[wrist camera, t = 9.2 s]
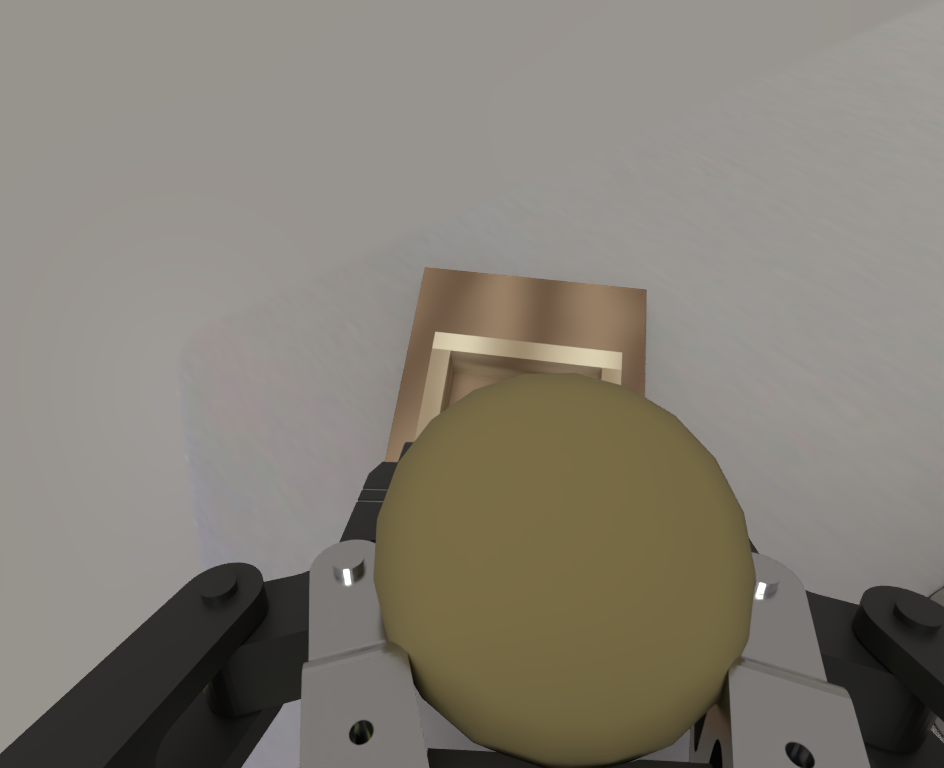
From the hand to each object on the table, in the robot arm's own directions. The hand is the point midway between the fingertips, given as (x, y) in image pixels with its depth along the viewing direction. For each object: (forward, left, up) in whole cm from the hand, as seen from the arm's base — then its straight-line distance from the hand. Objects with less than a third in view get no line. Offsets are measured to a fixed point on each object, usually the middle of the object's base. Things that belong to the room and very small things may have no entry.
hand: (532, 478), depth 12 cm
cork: (0, +2, -5) cm, 5 cm away
